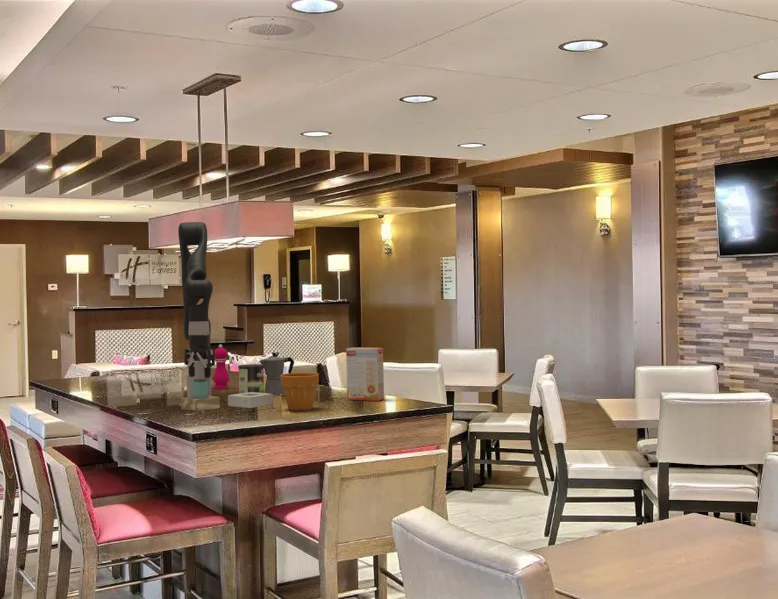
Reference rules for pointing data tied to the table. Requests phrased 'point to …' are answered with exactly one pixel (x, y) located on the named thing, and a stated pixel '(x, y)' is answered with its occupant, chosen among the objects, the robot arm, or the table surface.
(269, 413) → the table surface
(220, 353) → the pepper mill
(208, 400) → the holster
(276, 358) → the coffeepot
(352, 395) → the cracker box
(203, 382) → the plug
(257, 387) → the coffee can
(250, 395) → the port
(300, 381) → the flower pot
